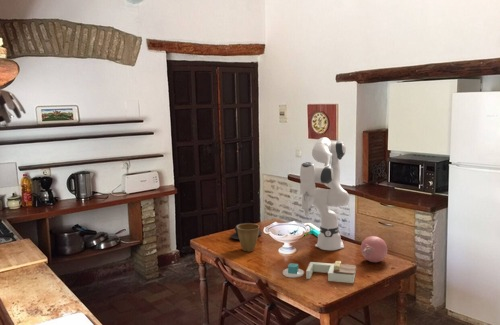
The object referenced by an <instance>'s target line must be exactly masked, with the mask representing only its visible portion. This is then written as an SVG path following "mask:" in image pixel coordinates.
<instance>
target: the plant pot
mask: <svg viewBox="0 0 500 325" xmlns="http://www.w3.org/2000/svg"><path fill="white" fill-rule="evenodd" d="M240 224H241V225H238V224H237V225H238V226H237V232H238V236H239V239H238V240H239V243H240V246H241V248H242V250H243V252H253V251H255V248H256V246H257V241H258V238H259V235H258V233H259V231H260V225H259V224H257V223H253V224H242V223H240Z"/></svg>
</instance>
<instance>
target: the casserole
mask: <svg viewBox="0 0 500 325" xmlns="http://www.w3.org/2000/svg"><path fill="white" fill-rule="evenodd" d="M241 224H254V222H253V223H251V222H244V223H238V224H236V225H235V227H234V231H235V233H233V234H231V235H229V236H230V238H231V239H233V240H239V236H238V232H237V226H238V225H241ZM261 234H263V231H262V230H259V233H258V236H260V235H261Z"/></svg>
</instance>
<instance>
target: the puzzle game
mask: <svg viewBox="0 0 500 325" xmlns="http://www.w3.org/2000/svg"><path fill="white" fill-rule="evenodd" d="M303 224H304V225H307V226H309V227H310V228H311V231H310V232H309V233H306V234H305V236H307V235H310V234H313V235H314V236H316V237H317V238H318V234H319V233H320V227H317V226H316V225H314V224H313V223H312V222H306V223H303ZM305 236H304V237H305Z"/></svg>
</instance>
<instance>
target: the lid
mask: <svg viewBox="0 0 500 325" xmlns="http://www.w3.org/2000/svg"><path fill="white" fill-rule="evenodd" d="M333 264H334V271H333V273H341V274H353V275H354V274H355V275H356V273H355V269H356V270H357V266H354V265H353V264H343V265H342V261H341V260H335V262H334V263H333Z"/></svg>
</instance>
